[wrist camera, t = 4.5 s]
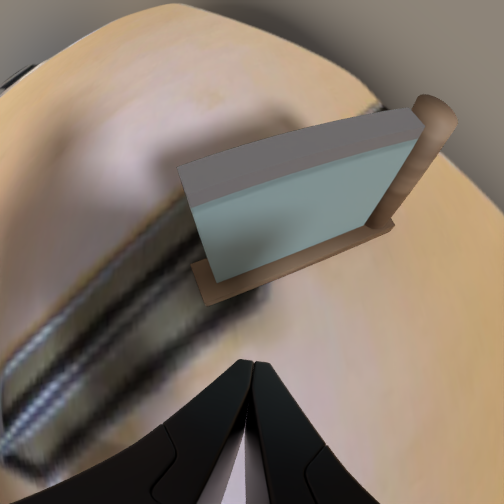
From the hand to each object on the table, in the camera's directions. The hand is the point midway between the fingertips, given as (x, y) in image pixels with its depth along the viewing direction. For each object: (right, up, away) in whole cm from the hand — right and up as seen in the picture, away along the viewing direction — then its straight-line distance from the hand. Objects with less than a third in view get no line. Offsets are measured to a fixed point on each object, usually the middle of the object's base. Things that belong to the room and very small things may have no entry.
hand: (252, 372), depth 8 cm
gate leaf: (+2, +4, +11) cm, 12 cm away
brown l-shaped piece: (+3, +3, +12) cm, 13 cm away
